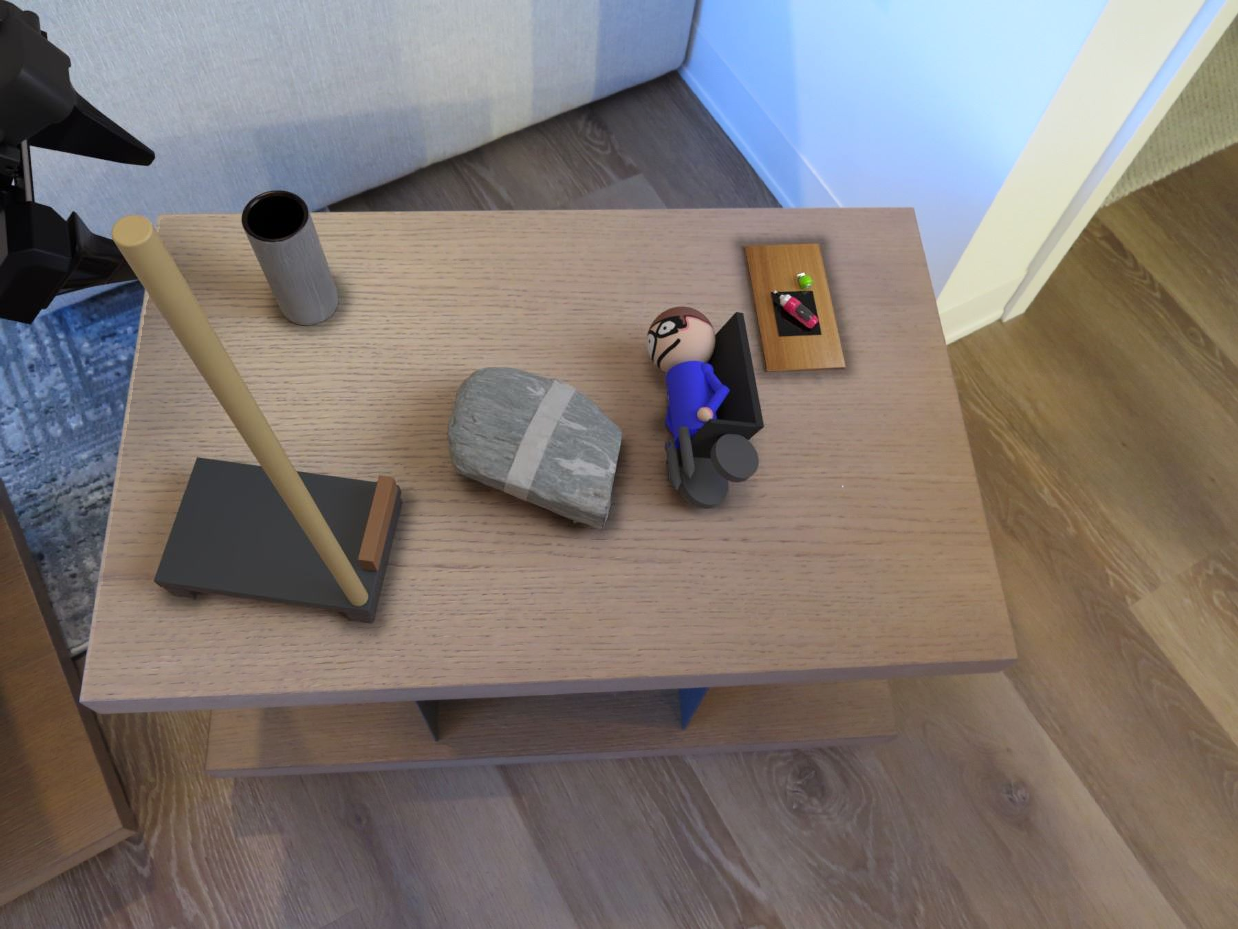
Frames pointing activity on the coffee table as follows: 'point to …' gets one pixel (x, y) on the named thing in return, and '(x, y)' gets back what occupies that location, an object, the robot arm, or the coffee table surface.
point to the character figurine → (707, 402)
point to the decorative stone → (535, 442)
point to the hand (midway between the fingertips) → (161, 212)
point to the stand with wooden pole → (260, 485)
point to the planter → (291, 256)
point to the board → (794, 308)
